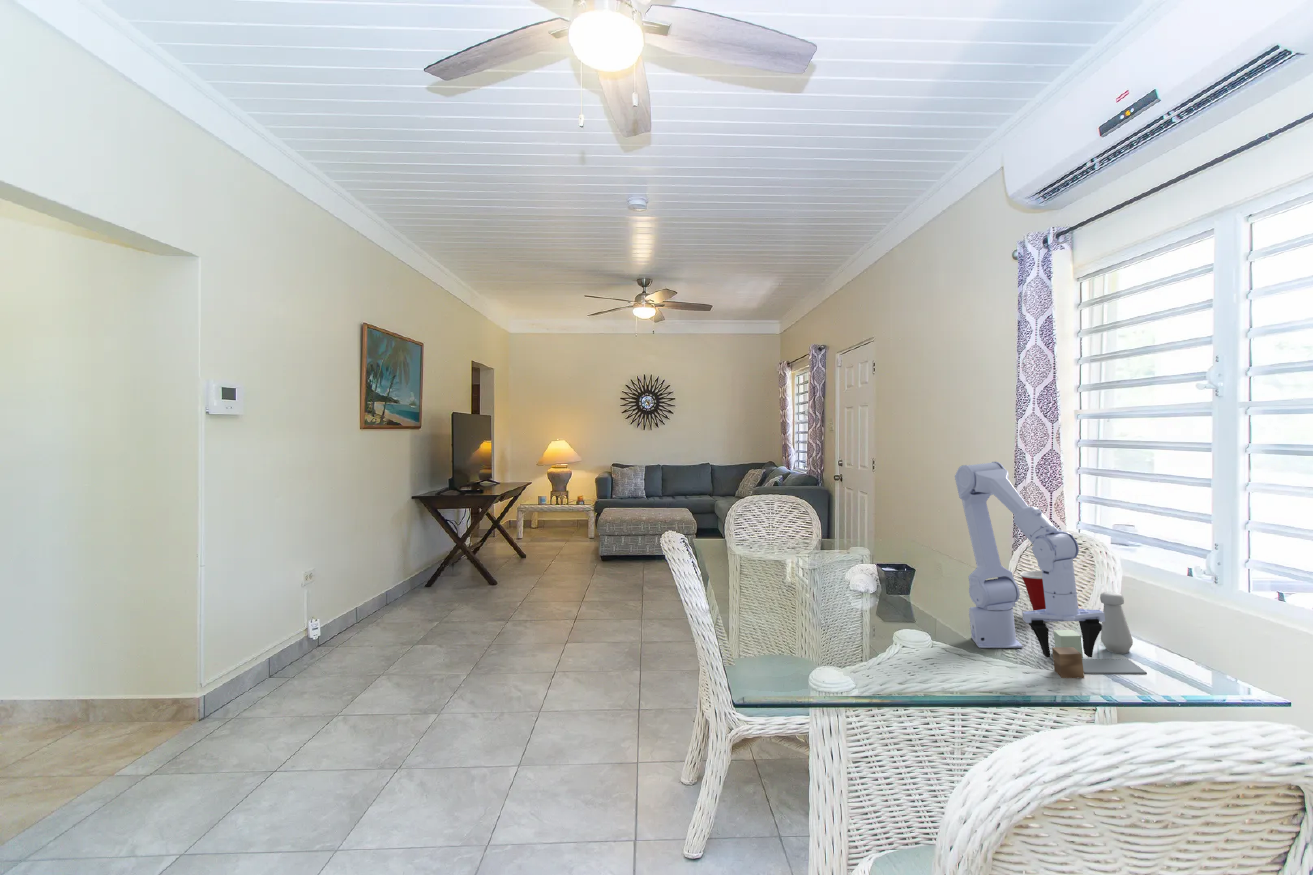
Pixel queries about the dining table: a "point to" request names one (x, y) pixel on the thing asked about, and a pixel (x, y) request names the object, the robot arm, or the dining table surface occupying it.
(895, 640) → the dining table surface
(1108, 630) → the salt shaker
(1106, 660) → the slate mat
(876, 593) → the dining table surface
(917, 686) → the dining table surface
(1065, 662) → the walnut block
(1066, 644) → the sage block
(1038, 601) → the plastic cup
